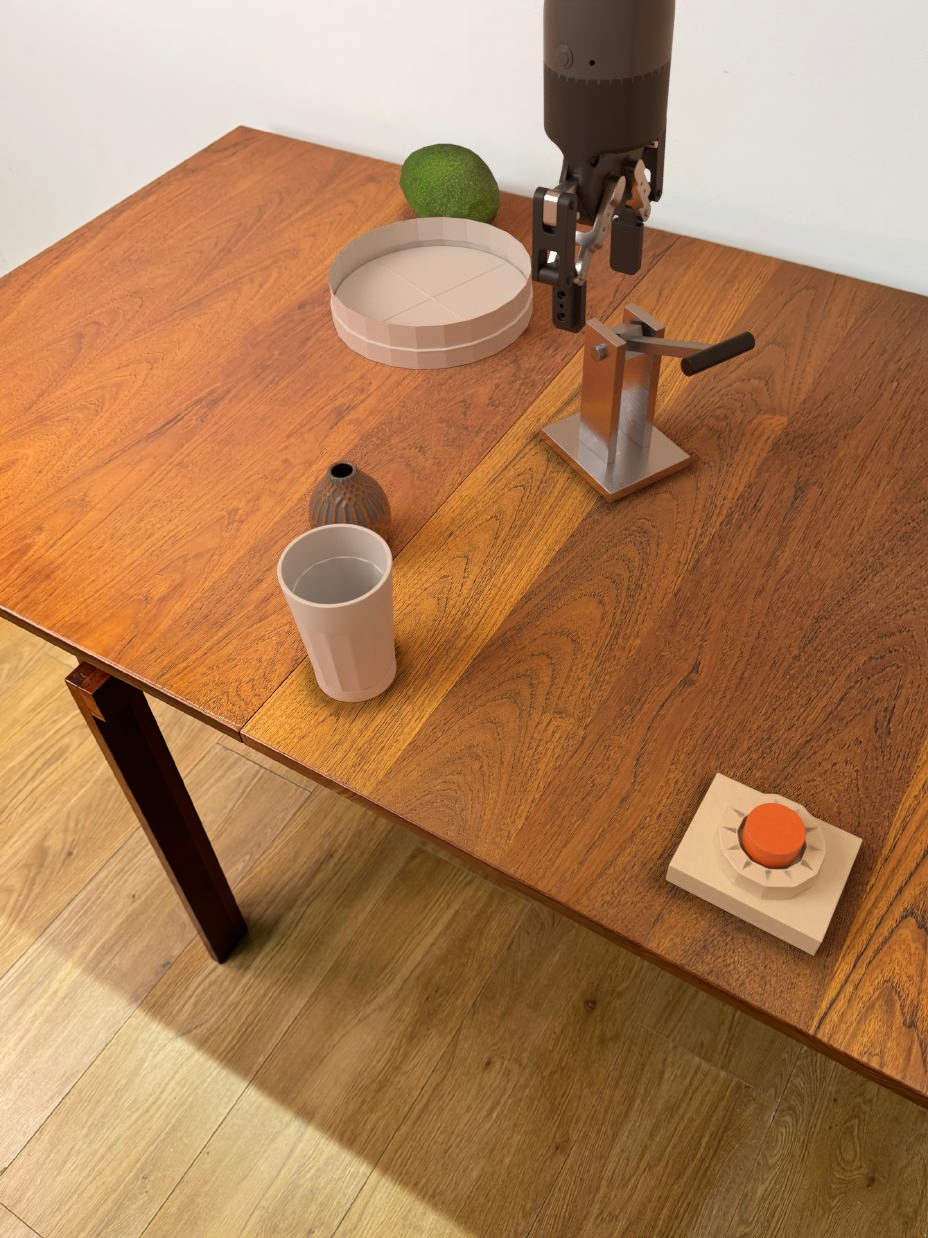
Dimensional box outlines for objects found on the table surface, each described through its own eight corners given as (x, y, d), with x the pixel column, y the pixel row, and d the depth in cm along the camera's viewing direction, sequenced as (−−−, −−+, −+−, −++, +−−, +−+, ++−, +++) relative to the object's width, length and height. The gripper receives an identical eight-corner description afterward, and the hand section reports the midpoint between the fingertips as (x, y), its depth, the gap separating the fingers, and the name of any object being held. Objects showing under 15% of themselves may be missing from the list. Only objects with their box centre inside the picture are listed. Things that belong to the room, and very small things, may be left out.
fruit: (384, 213, 124) (375, 131, 117) (452, 190, 127) (448, 109, 120) (444, 266, 116) (439, 182, 108) (516, 240, 119) (516, 157, 111)
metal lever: (757, 356, 75) (753, 325, 74) (695, 384, 73) (690, 352, 72) (644, 342, 87) (639, 315, 86) (588, 366, 85) (582, 338, 84)
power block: (854, 855, 66) (870, 825, 63) (813, 956, 62) (828, 930, 59) (712, 788, 70) (721, 757, 67) (665, 880, 66) (672, 851, 62)
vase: (364, 507, 90) (351, 430, 83) (410, 548, 86) (401, 471, 80) (300, 543, 87) (282, 467, 81) (345, 587, 84) (330, 511, 77)
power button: (808, 832, 63) (814, 819, 62) (788, 877, 61) (794, 864, 60) (754, 807, 65) (759, 793, 63) (732, 850, 63) (737, 837, 61)
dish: (294, 305, 112) (286, 264, 108) (449, 236, 120) (447, 196, 116) (412, 397, 100) (408, 354, 96) (575, 313, 108) (577, 271, 105)
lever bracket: (689, 466, 92) (711, 337, 81) (609, 503, 89) (622, 375, 78) (616, 404, 98) (628, 277, 87) (540, 438, 95) (543, 310, 85)
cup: (426, 653, 79) (414, 546, 70) (369, 727, 74) (348, 623, 65) (343, 616, 82) (321, 509, 72) (284, 685, 77) (253, 580, 68)
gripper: (608, 104, 53) (598, 364, 65) (716, 17, 61) (689, 264, 73) (489, 83, 56) (500, 335, 68) (606, 2, 64) (597, 242, 76)
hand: (597, 298), depth 71 cm, fingers open, 8 cm apart
